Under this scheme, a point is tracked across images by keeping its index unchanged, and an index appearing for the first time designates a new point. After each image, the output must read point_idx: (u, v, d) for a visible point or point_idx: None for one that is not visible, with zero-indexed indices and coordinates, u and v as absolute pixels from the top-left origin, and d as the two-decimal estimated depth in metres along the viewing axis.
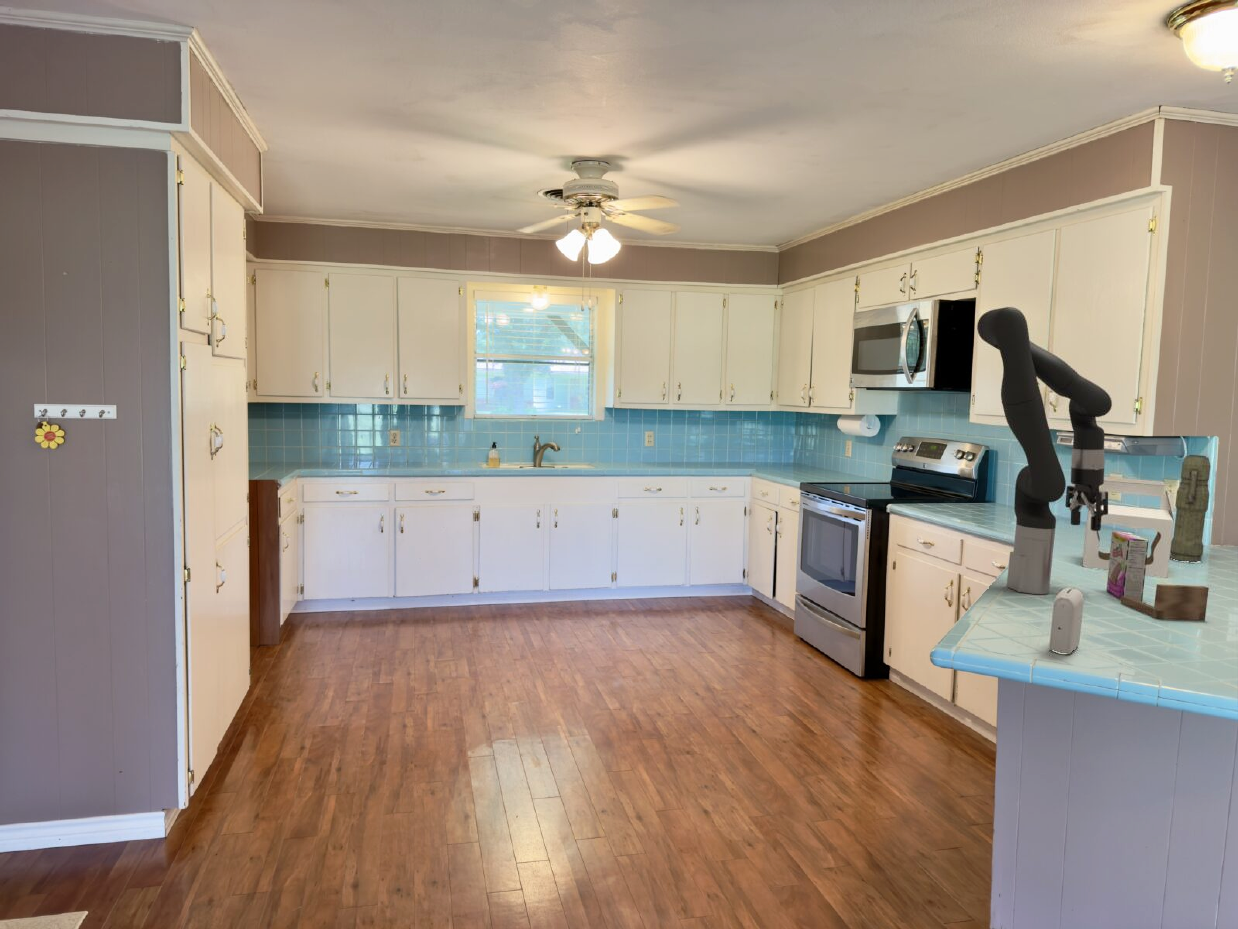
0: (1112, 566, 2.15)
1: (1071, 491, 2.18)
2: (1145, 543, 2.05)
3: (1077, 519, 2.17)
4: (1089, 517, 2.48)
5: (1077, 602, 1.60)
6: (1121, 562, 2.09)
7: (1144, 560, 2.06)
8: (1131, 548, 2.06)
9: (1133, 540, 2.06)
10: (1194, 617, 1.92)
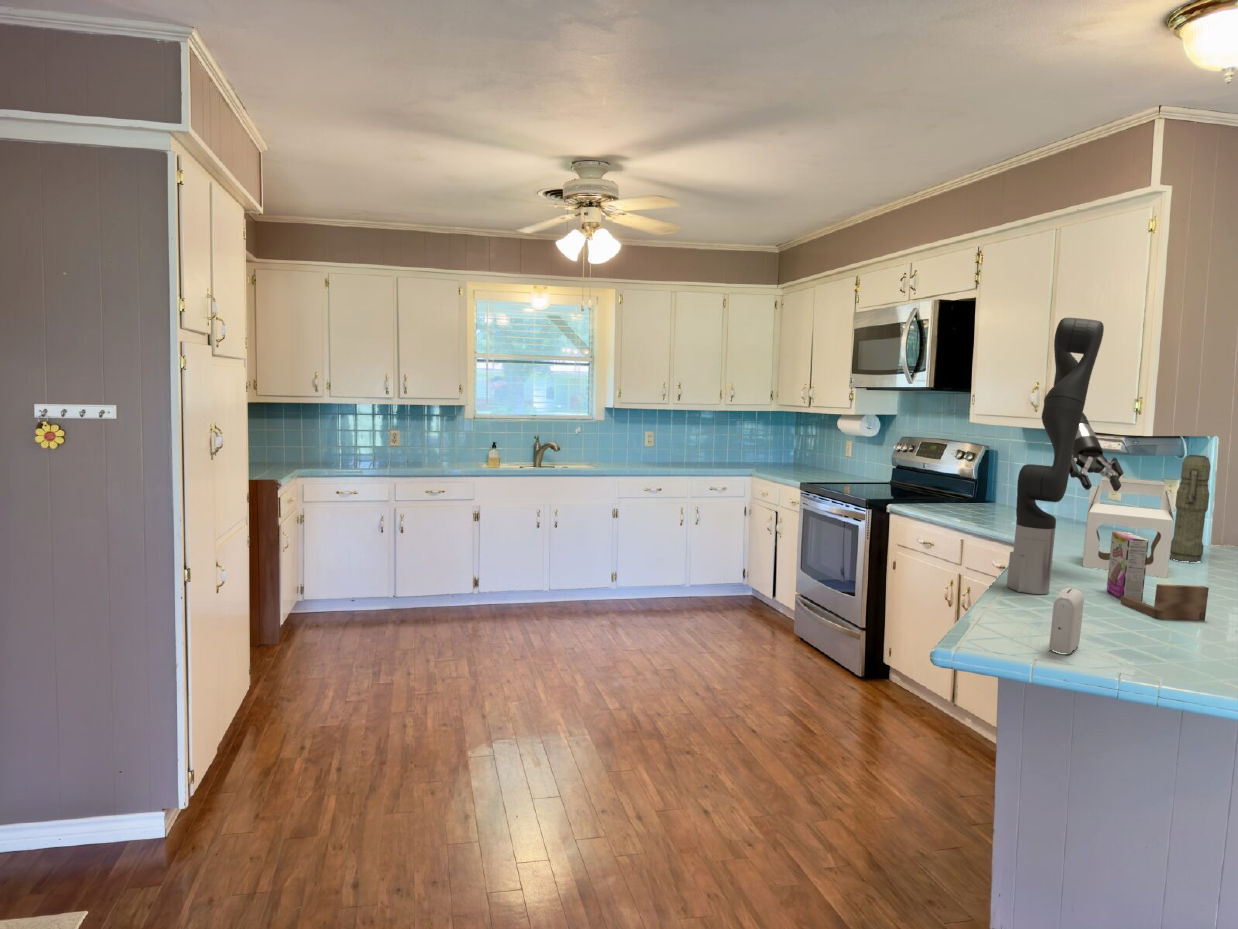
0: (1112, 566, 2.15)
1: None
2: (1145, 543, 2.05)
3: None
4: (1089, 517, 2.48)
5: (1077, 602, 1.60)
6: (1121, 562, 2.09)
7: (1144, 560, 2.06)
8: (1131, 548, 2.06)
9: (1133, 540, 2.06)
10: (1194, 617, 1.92)
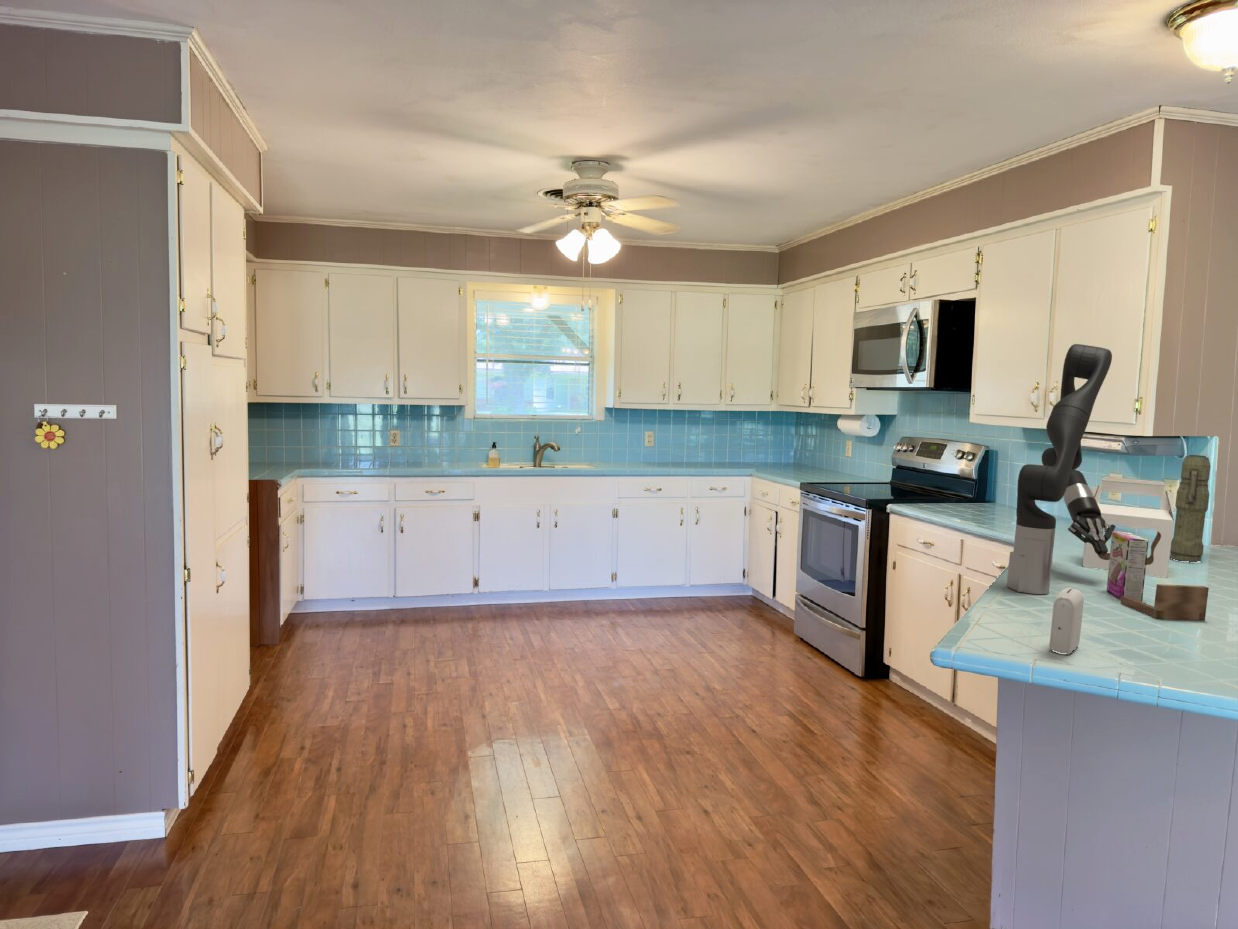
0: (1112, 566, 2.15)
1: None
2: (1145, 543, 2.05)
3: None
4: None
5: (1077, 602, 1.60)
6: (1121, 562, 2.09)
7: (1144, 560, 2.06)
8: (1131, 548, 2.06)
9: (1133, 540, 2.06)
10: (1194, 617, 1.92)
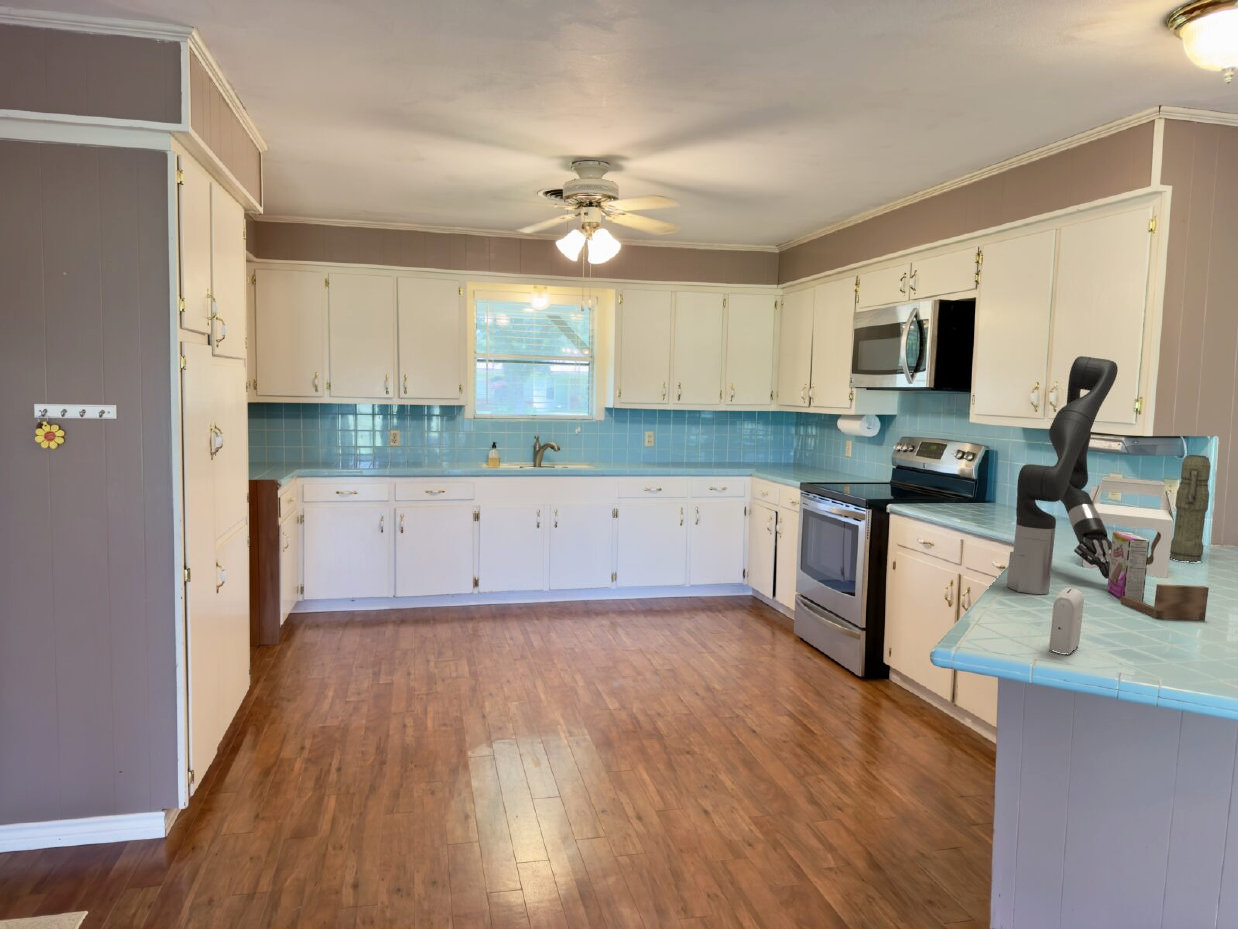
0: (1113, 566, 2.14)
1: None
2: (1146, 543, 2.05)
3: None
4: None
5: (1077, 602, 1.60)
6: (1122, 562, 2.09)
7: (1145, 560, 2.05)
8: (1132, 548, 2.06)
9: (1134, 540, 2.06)
10: (1194, 617, 1.92)
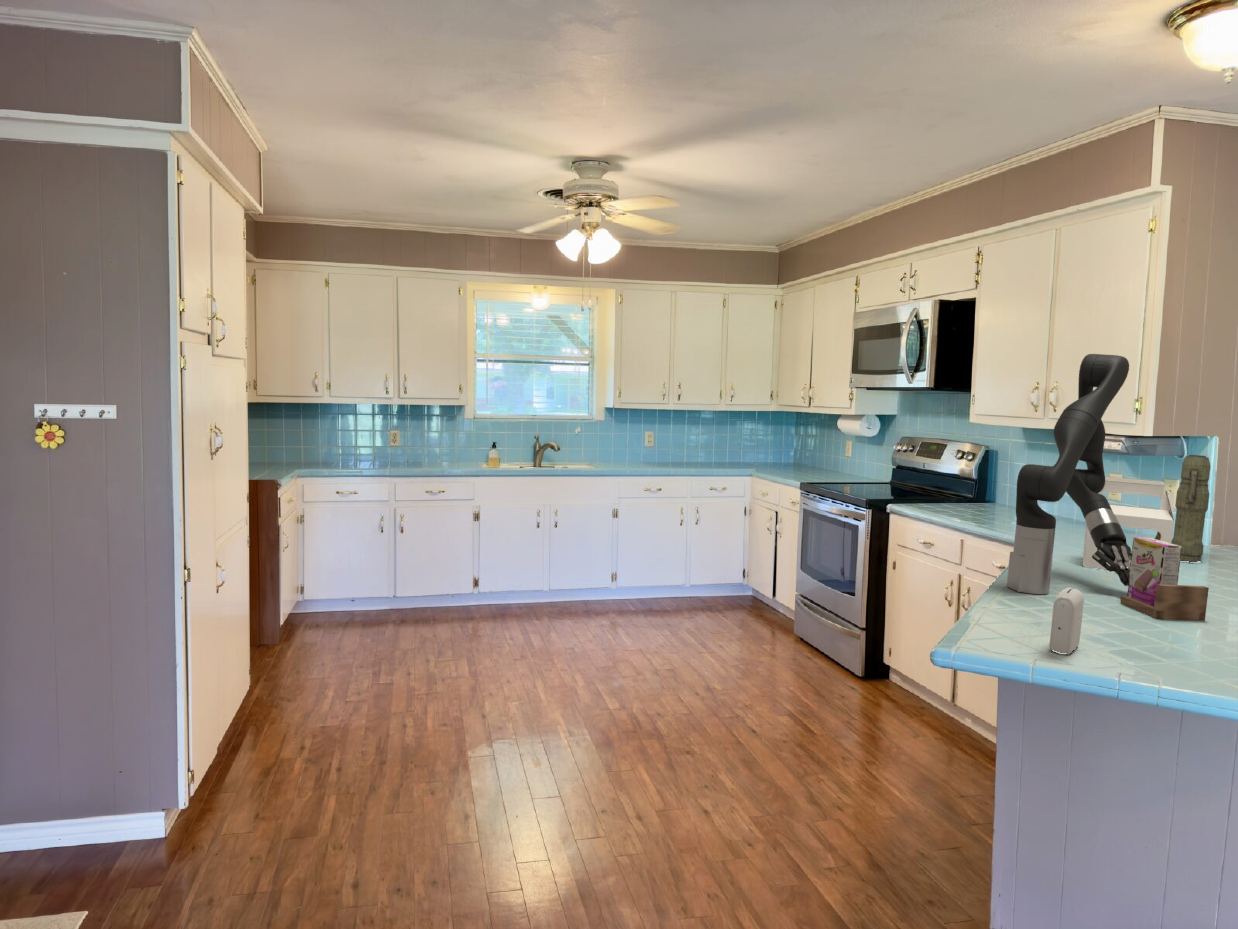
0: (1137, 574, 2.06)
1: None
2: (1179, 549, 1.98)
3: None
4: None
5: (1077, 602, 1.60)
6: (1152, 570, 2.01)
7: (1177, 567, 1.98)
8: (1166, 555, 1.98)
9: (1168, 547, 1.98)
10: (1194, 617, 1.92)
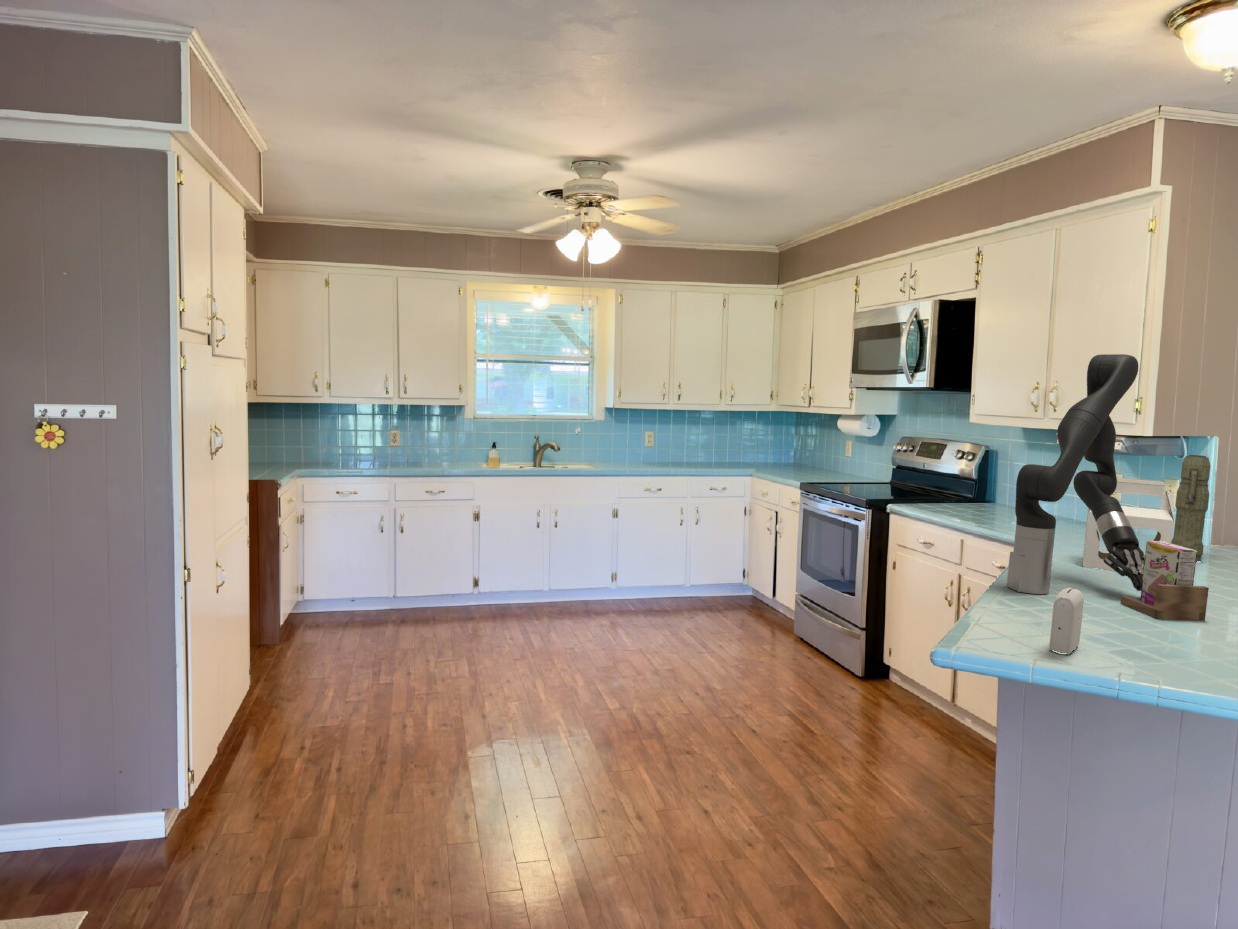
0: (1150, 578, 2.01)
1: None
2: (1194, 554, 1.93)
3: None
4: (1089, 517, 2.48)
5: (1077, 602, 1.60)
6: (1167, 575, 1.96)
7: (1193, 572, 1.93)
8: (1181, 560, 1.93)
9: (1183, 551, 1.93)
10: (1194, 617, 1.92)
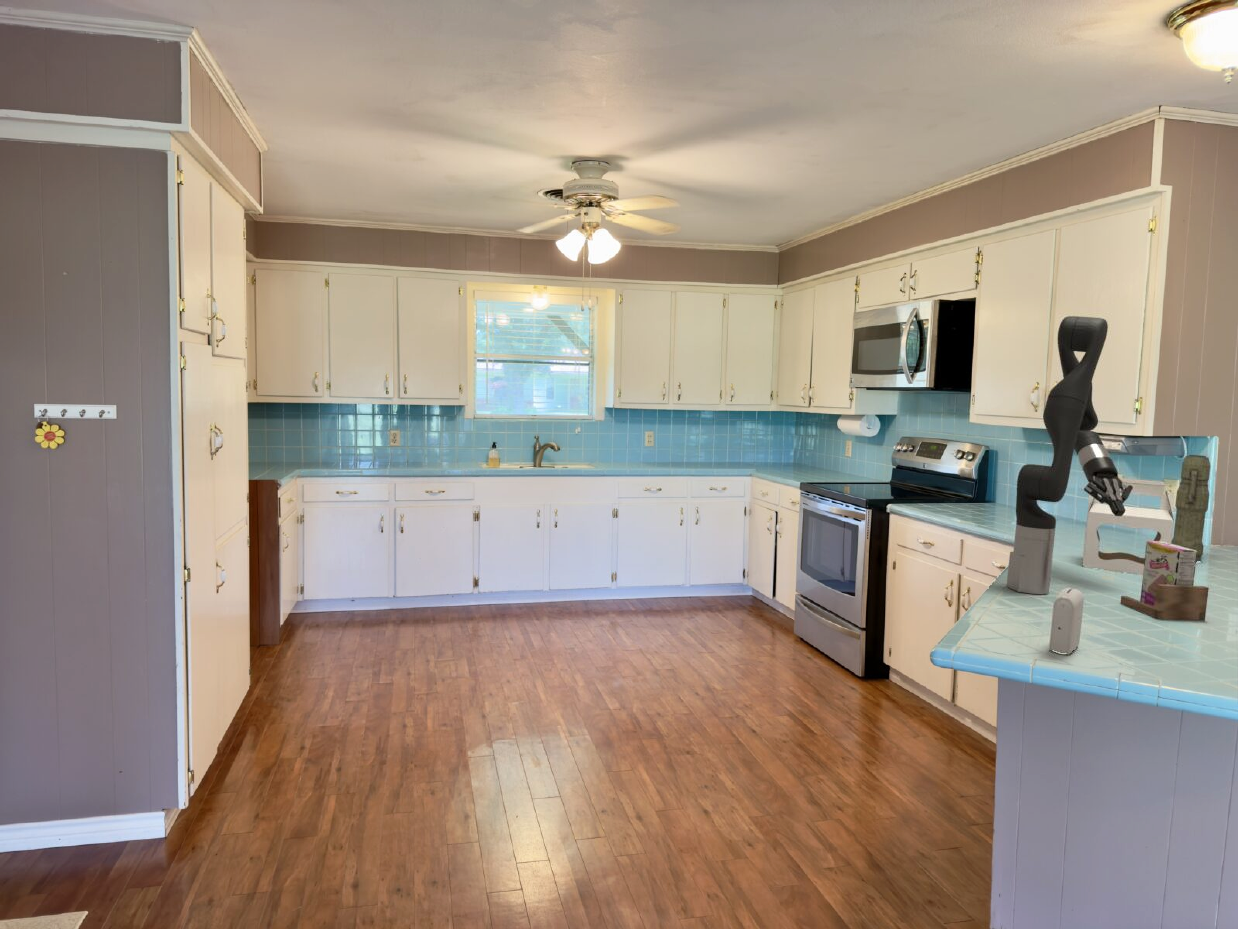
0: (1150, 579, 2.01)
1: None
2: (1194, 554, 1.93)
3: None
4: (1089, 517, 2.48)
5: (1077, 602, 1.60)
6: (1167, 575, 1.96)
7: (1193, 572, 1.93)
8: (1181, 560, 1.93)
9: (1183, 551, 1.93)
10: (1194, 617, 1.92)
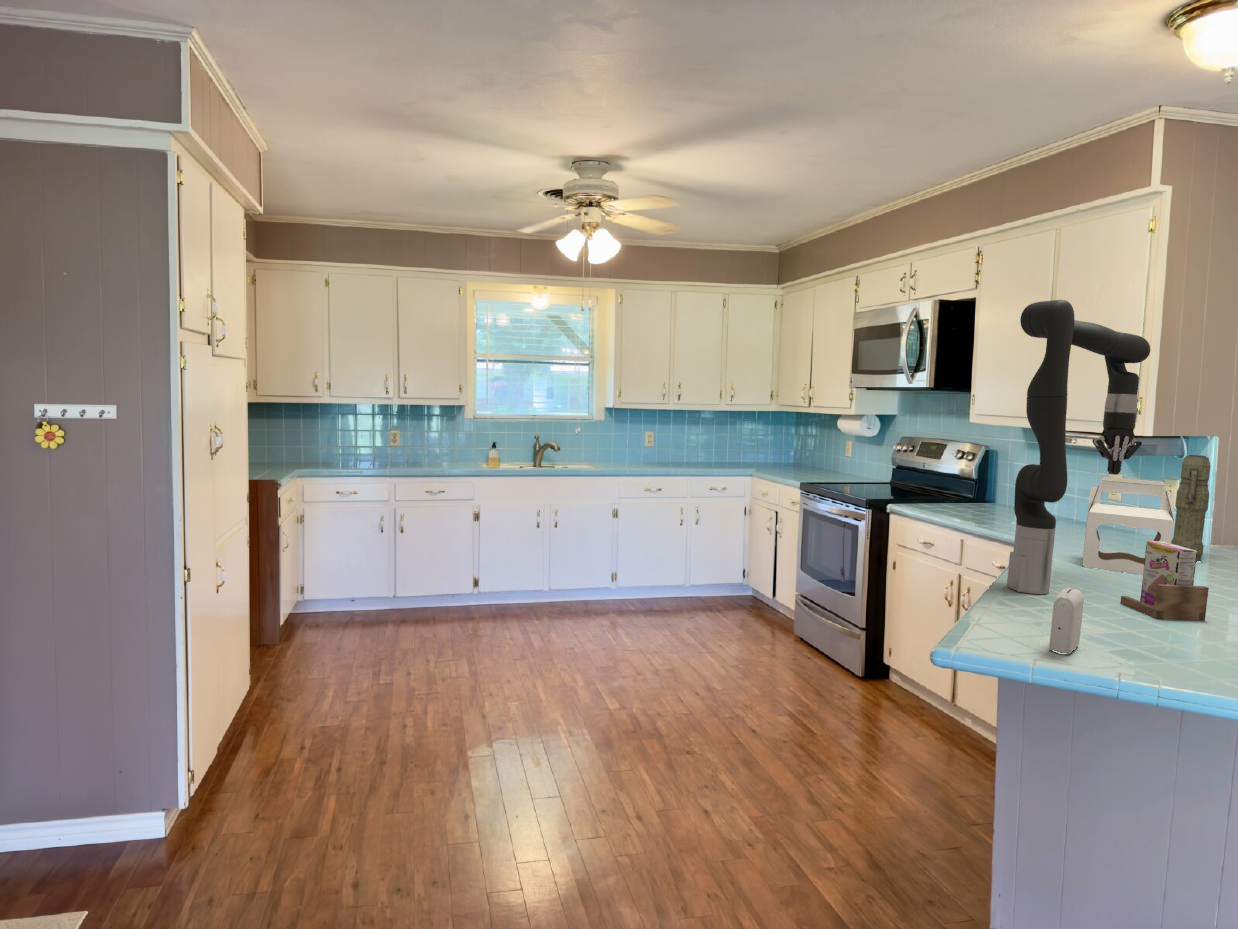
0: (1150, 579, 2.01)
1: (1103, 442, 2.21)
2: (1194, 554, 1.93)
3: None
4: (1089, 517, 2.48)
5: (1077, 602, 1.60)
6: (1167, 575, 1.96)
7: (1193, 572, 1.93)
8: (1181, 560, 1.93)
9: (1183, 551, 1.93)
10: (1194, 617, 1.92)
